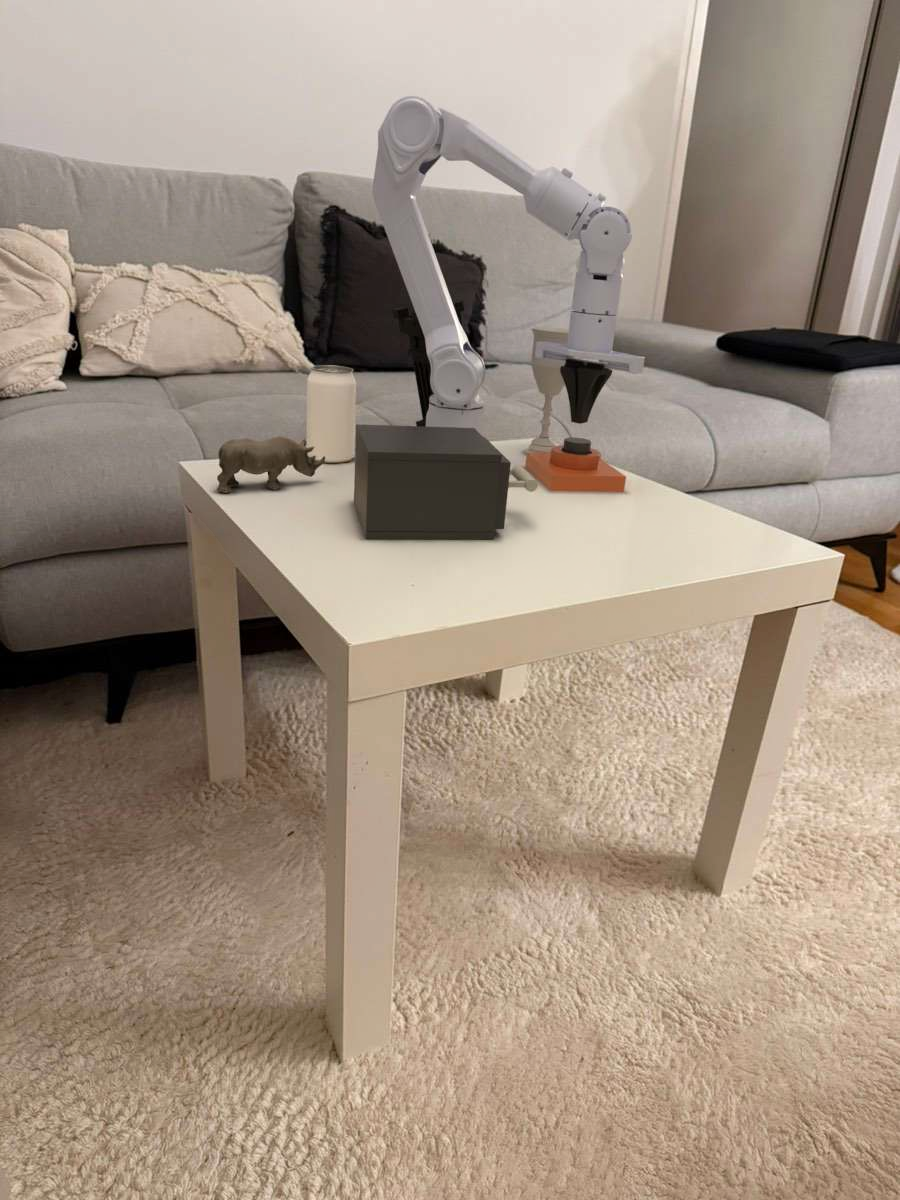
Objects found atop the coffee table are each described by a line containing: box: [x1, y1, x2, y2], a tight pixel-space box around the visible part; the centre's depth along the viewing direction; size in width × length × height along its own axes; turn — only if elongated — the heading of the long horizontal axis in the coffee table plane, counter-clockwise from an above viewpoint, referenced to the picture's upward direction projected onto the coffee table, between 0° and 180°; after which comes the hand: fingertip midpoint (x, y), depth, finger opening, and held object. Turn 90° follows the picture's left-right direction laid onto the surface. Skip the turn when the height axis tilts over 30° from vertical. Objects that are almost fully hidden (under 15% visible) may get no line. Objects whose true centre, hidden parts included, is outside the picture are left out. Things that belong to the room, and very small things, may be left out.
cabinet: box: [353, 423, 502, 540], centre depth 92 cm, size 14×13×9 cm
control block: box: [524, 444, 627, 493], centre depth 115 cm, size 12×10×4 cm
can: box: [306, 364, 357, 464], centre depth 114 cm, size 6×6×12 cm
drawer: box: [483, 436, 539, 530], centre depth 93 cm, size 17×11×7 cm
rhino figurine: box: [216, 436, 325, 494], centre depth 101 cm, size 4×14×6 cm, turn 121°
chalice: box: [525, 326, 576, 454], centre depth 124 cm, size 7×7×18 cm
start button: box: [562, 436, 592, 455], centre depth 114 cm, size 4×4×2 cm
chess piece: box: [392, 300, 465, 427], centre depth 120 cm, size 8×8×20 cm
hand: (579, 422), depth 111 cm, fingers closed
